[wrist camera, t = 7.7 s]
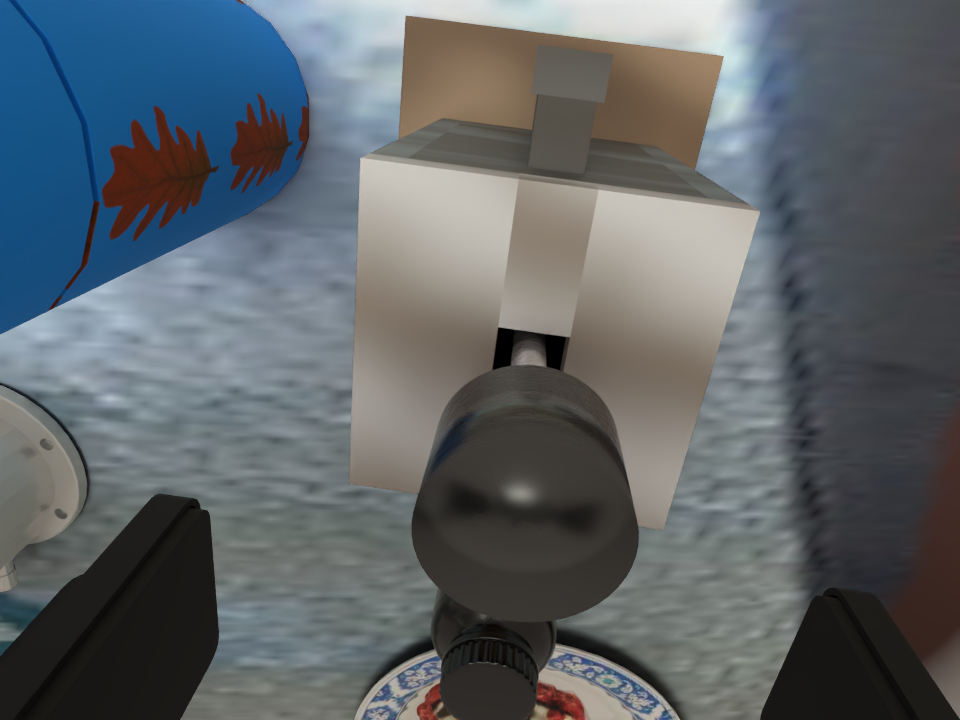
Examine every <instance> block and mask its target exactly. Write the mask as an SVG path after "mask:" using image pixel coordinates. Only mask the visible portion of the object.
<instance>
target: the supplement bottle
mask: <svg viewBox="0 0 960 720" xmlns="http://www.w3.org/2000/svg"><path fill="white" fill-rule="evenodd" d="M556 635H557V625H556V620H552V621H544V622H515V621H507V620H502V619H497V618H493V617H490V616H486V615H483V614H480V613H478V612H476V611H473V610H471V609H469V608H467V607H465V606H463V605H461V604H459V603H458V602H456V601H455V600H453V599H452V598H450V597H449V596H448V595H446V594H445V593H444V592H443V591H442V590H441V589H439V588H438V591H437V596H436V601H435V606H434V610H433V615H432V622H431V639H432V643H433V646H434V649H435V651H436V653H437V655H438V657H439V658H440V660H441V661H442V663H441V678H440V687H439V694H440V700H441V701H442V702H443V706H444V707H445V708H446V709H447V711H448V713H450V714H451V715H452V716H453V717H454V718H455V719H458V720H526V719H528V717H529V715H531V714H532V713H533V709H534V708H535V706H536V700H537V683H538V679H539V673H540V672H541V671H542V670H543V669H544V668H545V666H546V665H547V664H548V662H549V661H550V659H551V657H552V655H553V653H554V650H555V646H556Z"/></svg>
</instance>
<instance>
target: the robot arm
mask: <svg viewBox="0 0 960 720" xmlns="http://www.w3.org/2000/svg"><path fill="white" fill-rule="evenodd" d="M86 493H87V480H86V474H85V469H84V466H83V463H82V461H81V458H80V456H79V453H78V451H77V450H76V448H75V446H74V445H73V443H72V441H71V440H70V438H69V436H68V435H67V434H66V433H65V432H64V430H63V429H62V428H61V427H60V426H59V424H58V423H57V422H56V421H55V420H54V419H53V418H51V417H50V416H49V415H48V414H47V413H46V412H45V411H44V410H43V409H42V408H40V407H39V406H37V405H36V404H34V403H33V402H31V401H30V400H28V399H27V398H26V397H24V396H22V395H20V394H18V393H16V392H14V391H12V390H10V389H8V388H6V387H4V386H1V385H0V592H3V591H7V590H10V589H12V588H14V587H15V586H16V585H17V584H18V582H19V581H18V577H17V573H16V569H15V565H13V562H12V560H13V559H14V557H15V556H16V555H17V554H18V553H19V552H20V551H21V550H22V549H23V548H24V547H25V546H26V545H28V544H33V543H40V542H43V541H45V540H48V539H51V538H53V537H55V536H56V535H58V534H59V533H61V532H63V531H64V530H65V529H66V528H67V527H68V526H69V525H70V524H71V523H72V522H73V521H74V520H75V519H76V518H77V516H78V515H79V513H80V512H81V510H82V509H83V505H84V502H85V499H86ZM218 639H219V628H218V615H217V602H216V589H215V576H214V563H213V550H212V537H211V524H210V515H209V512H208V511H207V510H203V509H200V504H199V502H198V500H197V499H194V498H187V497H180V496H173V495H166V494H157V495H155V496H154V497H152V498H151V499H150V500H149V501H148V502H147V504H146V505H145V506H144V507H143V508H142V509H141V510H140V511H139V513H138V514H137V515H136V516H135V517H134V518H133V519H132V520H131V522H130V523H129V524H128V525H127V526H126V527H125V528H124V529H123V531H122V532H121V533H120V534H119V535H118V536H117V537H116V538H115V540H114V541H113V542H112V543H111V544H110V545H109V546H108V547H107V548H106V550H105V551H104V552H103V553H102V554H101V555H100V556H99V557H98V559H97V560H96V561H95V562H94V563H93V564H92V565H91V566H90V568H89V569H88V570H87V571H86V572H85V573H84V574H83V575H80V576H78V577H76V578H74V579H72V580H71V581H70V582H69V583H67V584H66V585H65V586H64V587H63V588H62V589H61V590H60V591H59V592H58V593H57V595H56V596H55V597H54V598H53V599H52V600H51V601H50V602H49V603H48V604H47V606H46V607H45V608H44V609H43V610H42V611H41V612H40V613H39V614H38V615H37V617H36V618H35V619H34V620H33V621H32V622H31V623H30V624H29V625H28V626H27V628H26V629H25V630H24V631H23V632H22V633H21V634H20V635H19V636H18V638H17V639H16V640H15V641H14V642H13V643H12V644H11V645H10V646H9V647H8V649H7V650H6V651H5V652H4V653H3V654H2V655H1V656H0V720H180V719H181V717H182V715H183V713H184V712H185V710H186V708H187V706H188V704H189V702H190V700H191V699H192V697H193V695H194V693H195V691H196V689H197V687H198V686H199V684H200V682H201V680H202V678H203V676H204V674H205V673H206V671H207V669H208V667H209V665H210V663H211V661H212V659H213V657H214V655H215V652H216V649H217V645H218ZM760 720H960V719H959V718H958V716H957V715H956V713H955V712H954V710H953V709H952V707H951V706H950V704H949V703H948V701H947V700H946V698H945V697H944V695H943V694H942V692H941V691H940V689H939V688H938V686H937V685H936V683H935V682H934V680H933V679H932V677H931V676H930V675H929V673H928V672H927V670H926V669H925V667H924V666H923V664H922V663H921V661H920V660H919V658H918V657H917V655H916V654H915V653H914V651H913V649H912V648H911V646H910V645H909V643H908V642H907V640H906V639H905V638H904V636H903V635H902V633H901V632H900V630H899V629H898V627H897V626H896V624H895V623H894V621H893V620H892V618H891V617H890V615H889V614H888V612H887V611H886V609H885V608H884V606H883V605H882V603H881V602H880V601H879V599H878V598H877V597H876V596H875V595H873V594H871V593H869V592H862V591H854V590H847V589H840V588H829V589H827V590H826V591H825V592H824V594H823V595H822V596H816V597H814V598H813V600H812V601H811V603H810V606H809V608H808V610H807V612H806V615H805V617H804V619H803V621H802V623H801V626H800V628H799V630H798V632H797V634H796V637H795V639H794V641H793V643H792V646H791V648H790V650H789V652H788V654H787V657H786V659H785V661H784V663H783V665H782V668H781V670H780V672H779V674H778V677H777V679H776V681H775V683H774V685H773V688H772V690H771V692H770V694H769V697H768V699H767V701H766V703H765V705H764V708H763V710H762V713H761V719H760Z"/></svg>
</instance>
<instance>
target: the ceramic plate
mask: <svg viewBox="0 0 960 720" xmlns="http://www.w3.org/2000/svg"><path fill="white" fill-rule="evenodd" d="M441 663H442V661H441V660H440V658H439V657H438V655H437V653H436V651H435V649H433V650H430V651H428V652H425V653H423V654H420V655H418V656H415V657H413V658H411V659H409V660H407V661H406V662H404V663H402V664H400V665H399V666H397V667H396V668H394V669H393V670H391V671H390V672H389V673H387V674H386V675H385V676H384V677H382V678H381V679H380V680H379V681H378V682H377V683H376V684H375V685H374V686H373V687H372V688H371V690H370V691H369V693H368V694H367V695H366V697H365V698H364V700H363V701H362V702H361V705H360V707H359V709H358V711H357V714H356V716H355V719H354V720H458V719H455V718H454V717H453V716H452V715H451V714H450V713H448V711H447V709H446V708H445V707H444V706H443V702H442V701H441V700H440V694H439V687H440V678H441ZM526 720H680V719H679V717H678V715H677V713H676V711H675V710H674V709H673V708H672V707H671V706H670V704H669V703H668V702H667V701H666V700H665V699H664V697H663V696H662V695H661V694H660V693H659V692H657V691H656V690H655V689H654V688H653V687H652V686H651V685H649V684H648V683H647V682H645V681H644V680H643V679H641V678H640V677H639V676H637V675H636V674H634V673H632V672H631V671H629V670H627V669H626V668H624V667H622V666H620V665H618V664H616V663H614V662H612V661H609V660H607V659H605V658H603V657H601V656H598V655H595V654H592V653H589V652H586V651H583V650H580V649H577V648H574V647H570V646H566V645H561V644H557V643H556V646H555V650H554V653H553V655H552V657H551V659H550V661H549V662H548V664H547V665H546V666H545V668H544V669H543V670H542V671H541V672H540V673H539V679H538V683H537V700H536V706H535V708H534V709H533V713H532V714H531V715H529V717H528V719H526Z"/></svg>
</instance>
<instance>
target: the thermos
mask: <svg viewBox="0 0 960 720" xmlns="http://www.w3.org/2000/svg"><path fill="white" fill-rule="evenodd" d="M308 138H309V103H308V95H307V92H306V89H305V86H304V83H303V80H302V77H301V74H300V71H299V68H298V65H297V62H296V59H295V57H294V56H293V54H292V53H291V52H290V50H289V49H288V47H287V46H286V45H285V43H284V42H283V40H282V39H281V37H280V36H279V35H278V33H277V32H276V30H275V29H274V28H273V26H272V25H271V23H270V22H268V21H267V20H266V19H264V18H263V17H262V16H260V15H259V14H258V13H256V12H255V11H254V10H252V9H251V8H250V7H248V6H247V5H246V4H244V3H243V2H242V1H240V0H0V334H2V333H4V332H6V331H8V330H10V329H12V328H14V327H16V326H18V325H20V324H22V323H24V322H26V321H29V320H31V319H33V318H35V317H37V316H39V315H41V314H43V313H45V312H47V311H49V310H51V309H53V308H55V307H57V306H59V305H61V304H63V303H65V302H67V301H69V300H72V299H74V298H76V297H78V296H80V295H82V294H84V293H86V292H88V291H90V290H92V289H94V288H96V287H98V286H100V285H102V284H104V283H106V282H108V281H110V280H113V279H115V278H117V277H119V276H121V275H123V274H125V273H127V272H129V271H131V270H133V269H135V268H137V267H139V266H141V265H143V264H145V263H147V262H149V261H151V260H154V259H156V258H158V257H160V256H162V255H164V254H166V253H168V252H170V251H172V250H174V249H176V248H178V247H180V246H182V245H184V244H186V243H188V242H190V241H192V240H194V239H197V238H199V237H201V236H203V235H205V234H207V233H209V232H211V231H213V230H215V229H217V228H219V227H221V226H223V225H225V224H227V223H229V222H231V221H233V220H235V219H238V218H240V217H242V216H244V215H246V214H248V213H250V212H251V211H253V210H254V209H256V208H257V207H259V206H260V205H262V204H263V203H265V202H266V201H268V200H269V199H271V198H272V197H274V196H275V195H277V194H278V192H279V191H280V190H281V189H282V188H283V187H284V185H285V184H286V183H287V182H288V181H289V180H290V178H291V177H292V176H293V175H294V174H295V173H296V171H297V170H298V168H299V165H300V162H301V159H302V156H303V153H304V150H305V147H306V144H307V141H308Z"/></svg>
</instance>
